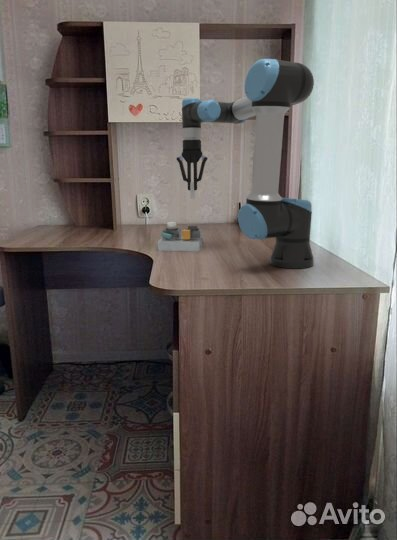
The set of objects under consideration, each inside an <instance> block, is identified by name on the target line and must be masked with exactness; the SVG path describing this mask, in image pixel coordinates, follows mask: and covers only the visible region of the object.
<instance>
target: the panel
mask: <svg viewBox="0 0 397 540" xmlns="http://www.w3.org/2000/svg"><path fill="white" fill-rule="evenodd" d="M184 230H188V227H186V228H184ZM162 233H166V234H171V235H172V237H171V239H170V238H166V237H160V239H159V238H158V240H157V251H159V252H160V251H161V252H164V251H165V252H200V250H201V249H202V247H203V245H204V235H203V228H201V227H199V228H198V227H197V231H191V238H190V239H182V227H177V229H176V230H168V229H167V227H165V228H164V229H162ZM162 233H161V234H162Z"/></svg>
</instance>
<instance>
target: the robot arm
mask: <svg viewBox="0 0 397 540" xmlns="http://www.w3.org/2000/svg"><path fill="white" fill-rule="evenodd" d="M314 86H315V80H314V76H313V73H312V71H311V70H310V68H309V67H308V66H307V65H305V64H303V63H301V62H293V61H288V60H281V59H277V58H261V59H259V60H257V61H255V62H254V63H253V64H252V66H251V67H250V68H249V69H248V72H247V74H246V77H245V81H244V93H245V95H246V96H244V97H241V98H239V99H237V100H234V101H231V102H226V101H223V102H220V101H216V100H213V99H206V100H203V101H201V99H200V98H198V97H196V98H195V97H188V98H187V97H186V98H184V99H182V101H181V103H182V104H181V120H182V122H181V123H182V130H181V132H182V134H181V135H182V139H183V140H182V152H181V154H180V155H179V156H178V157H176V158H175V159H176V161H177V162H178V165H179V167H180V168H179V169H180V173H181V177H182V181H183V182H186V183H187V190H188V191H190V193H189V195H190V196H189V198H190V199H191V200H192V199H193V200H194V199H195V197H196V196H195V195H196V193H195V191H197V190H198V182H201V181H202V179H203V174H204V170H205V167H206V166H205V165H206V163H207V161H208V157H207V156H205V155H203V152H202V140H201V138H202V124H203V123H217V124H218V123H219V124H234V125H237V124H243V123H245V122H246V121H247V120H248V119H249V118H252V117H254V116H255V125H254V126H255V128H254V145H253V146H254V147H253V159H252V178H251V192H250V193H249V194H248V195H247V196H246V199H245V203H244V204H243V205H242V206H241V207H240V209H239V210H238V213H237V220H238V221H237V223H238V225H239V228H240V230H241V232H242V233H243V235H244V236H245V237H246V238H248V239H250V240H261V241H262V240H265V239H271V238H275V244H274V245H273V248H272V251H271V254H270V257H269V264H270V265H272V266H274V267H278V268H282V269H306V268H307V269H308V268H311V267H312V266H314V263H315V260H314V259H315V258H314V254H313V251H312V247H311V243H310V242H311V241H310V240H311V228H312V227H311V226H312V225H311V224H312V214H313V212H312V202H311V201H310V200H308V199H297V198H290V197H282V196H281V195H280V193H279V185H280V174H281V173H280V172H281V163H282V162H281V161H282V160H281V159H282V149H283V135H284V121H285V115H286V113H287V112H289V110H290V108H291V107H292V106H295V105H297V104H300V103H303V102H305V101H306V100H307V99H308V98H309V97H310V95H311V94H312V92H313V90H314ZM184 160H185V162H186V167H187V168H186V170H187V171H185V166H184V162H183V161H184ZM200 160H201V165H200V168H199V174H198V162H199V161H200ZM192 164H193V165H192ZM192 167H193V181H192ZM186 172H187V174H186Z"/></svg>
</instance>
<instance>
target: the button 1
mask: <svg viewBox="0 0 397 540" xmlns="http://www.w3.org/2000/svg"><path fill="white" fill-rule="evenodd" d="M166 225H167V226H166V228H167V229H168V230H176V229H177V228H178V227H177V221H171V220H170V221H167V222H166Z"/></svg>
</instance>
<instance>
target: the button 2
mask: <svg viewBox="0 0 397 540" xmlns="http://www.w3.org/2000/svg"><path fill="white" fill-rule="evenodd" d="M187 228H188V230H191V231H197V228H198V225H188V226H187Z"/></svg>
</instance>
